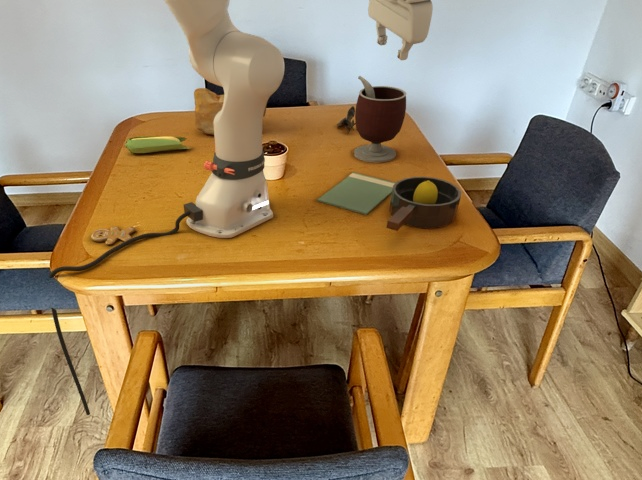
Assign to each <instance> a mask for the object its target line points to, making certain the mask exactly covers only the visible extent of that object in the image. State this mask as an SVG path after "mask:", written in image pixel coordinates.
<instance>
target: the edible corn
mask: <svg viewBox="0 0 642 480" xmlns="http://www.w3.org/2000/svg"><path fill="white" fill-rule="evenodd" d="M186 140H188V138H186V137H183V136H166V135H165V136H162V135H161V136H160V135H159V136H157V135H156V136H154V135H153V136H152V135H151V136H150V135H149V136H133V137H129V138H128V139H127V140H126V142H125V144H124V146H125V149H127V150H128V151H129V152H130V153H132V154H137V155H141V154H149V153H151V154H152V153H158V152H167V151H177V150H189V149H191V147H188V146H186V145H184V144H183V143H182V142H185V141H186Z"/></svg>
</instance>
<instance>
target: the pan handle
mask: <svg viewBox="0 0 642 480" xmlns="http://www.w3.org/2000/svg"><path fill="white" fill-rule="evenodd" d="M415 209H416V205H413V204H409V205H408V206H407V207H401V208H400V209H399V210H398V211H397V212H396V213H395V214H394V215H393V216H391V217H390V218H388V219H387V222H386V227H385V228H386V229H389V230H393V231H395V232H398V231H399V230H400V229H401V228H402V227H403V226H404V225H406V224H405V223H406V222H407V221H408V220H409V219H410V218H411V217H412V213H413V211H414V210H415Z"/></svg>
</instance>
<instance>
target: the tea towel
mask: <svg viewBox="0 0 642 480" xmlns="http://www.w3.org/2000/svg"><path fill="white" fill-rule="evenodd" d="M395 183H396V182H395V181H391V180H387V179H383V178H378V177H374V176H370V175H367V174H362V173H359V172H352V173H350V174H349V175H348V176H347V177H346V178H344V179H343V180H341V181H340V182H339V183H337V184H336V185H335V186H333V187H332V188H331V189H329V190H328V191H327V192H325V193H323V195H321V196H320V197H319V198H318V199H317V200H316V201H317V202H319V203H322V204H325V205H330V206H333V207H337V208H340V209H343V210H347V211H351V212H354V213H358V214H361V215H365V216H367V215H369V214H370V213H371V212H372V211H374V209H375V208H376V207H378V206H379V205H380V204H381V203H382V202H383V201H384V200H386V199H387V198H388V197H389V196H391V195H392V189H393V185H394V184H395Z"/></svg>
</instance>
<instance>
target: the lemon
mask: <svg viewBox="0 0 642 480" xmlns="http://www.w3.org/2000/svg"><path fill="white" fill-rule="evenodd" d="M437 196H438V191H437V187H436V185H435V184H434V183H432V182H430V181H429V180H428V181H425V182H422V183H421V184H419V185H418V186H417V188H416V190H415V192H414V196H413V202H416V203H420V204H429V205H432V204H435V203H436V201H437Z"/></svg>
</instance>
